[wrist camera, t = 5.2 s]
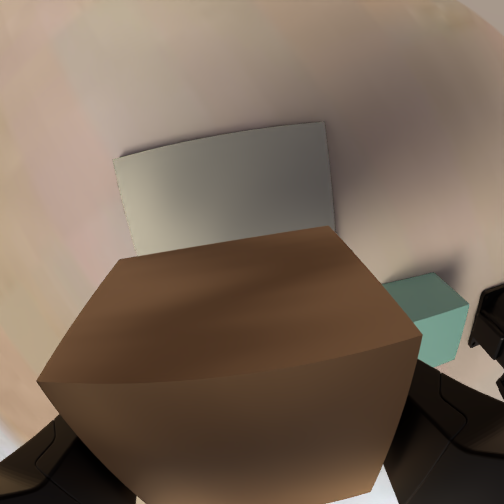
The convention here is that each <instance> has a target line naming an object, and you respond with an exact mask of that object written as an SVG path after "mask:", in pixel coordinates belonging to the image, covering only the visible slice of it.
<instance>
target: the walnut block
mask: <svg viewBox="0 0 504 504" xmlns="http://www.w3.org/2000/svg"><path fill="white" fill-rule="evenodd" d="M422 337H423V334H422V333H421V332H420V330H419V329H418V328H417V327H416V325H415V324H414V323H413V322H412V320H411V319H410V318H409V317H408V316H407V314H406V313H405V312H404V311H403V309H402V308H401V307H400V306H399V305H398V303H397V302H396V301H395V300H394V299H393V297H392V296H391V295H390V294H389V293H388V291H387V290H386V289H385V288H384V287H383V286H382V284H381V283H380V282H379V281H378V280H377V279H376V277H375V276H374V275H373V274H372V273H371V272H370V271H369V269H368V268H367V267H366V266H365V265H364V264H363V263H362V262H361V260H360V259H359V258H358V257H357V256H356V255H355V254H354V253H353V251H352V250H351V249H350V248H349V247H348V246H347V245H346V244H345V243H344V242H343V240H342V239H341V238H340V237H339V236H338V235H337V234H336V233H335V232H334V231H333V230H332V229H331V228H330V226H329V225H328V226H322V227H315V228H308V229H302V230H295V231H289V232H282V233H276V234H270V235H263V236H257V237H251V238H244V239H238V240H232V241H226V242H220V243H214V244H207V245H201V246H195V247H189V248H183V249H177V250H171V251H166V252H160V253H154V254H148V255H142V256H136V257H131V258H125V259H119V261H118V262H117V263H116V265H115V266H114V267H113V268H112V270H111V271H110V272H109V274H108V275H107V276H106V278H105V279H104V280H103V282H102V283H101V284H100V286H99V287H98V289H97V290H96V291H95V293H94V294H93V295H92V297H91V298H90V300H89V301H88V302H87V304H86V305H85V307H84V308H83V309H82V311H81V312H80V314H79V315H78V317H77V318H76V320H75V321H74V323H73V324H72V325H71V327H70V328H69V330H68V331H67V333H66V334H65V336H64V337H63V339H62V341H61V342H60V344H59V345H58V347H57V348H56V350H55V351H54V353H53V355H52V356H51V358H50V359H49V361H48V363H47V364H46V366H45V367H44V369H43V371H42V372H41V374H40V376H39V377H38V379H37V381H36V382H37V383H38V385H39V386H40V387H41V389H42V390H43V392H44V393H45V395H46V396H47V397H48V399H49V400H50V402H51V403H52V404H53V406H54V407H55V408H56V410H57V411H58V412H59V414H60V415H61V416H62V417H63V419H64V420H65V421H66V422H67V424H68V425H69V426H70V427H71V429H72V430H73V431H74V432H75V433H76V435H77V436H78V437H79V438H80V439H81V440H82V442H83V443H84V444H85V445H86V446H87V447H88V448H89V449H90V450H91V452H92V453H93V454H94V455H95V456H96V457H97V458H98V459H99V460H100V461H101V462H102V463H103V464H104V465H105V466H106V467H107V468H108V469H109V470H110V471H111V472H112V473H113V474H114V475H115V476H116V477H117V478H118V479H119V480H120V481H121V482H122V483H123V484H124V485H125V486H127V487H128V488H129V489H130V490H131V491H132V492H133V493H134V494H135V495H137V496H138V497H139V498H140V499H141V500H142V501H144V502H145V503H146V504H326V503H331V502H335V501H339V500H343V499H347V498H351V497H354V496H358V495H361V494H365V493H368V492H371V490H372V488H373V485H374V483H375V481H376V479H377V477H378V474H379V472H380V470H381V467H382V465H383V463H384V460H385V458H386V455H387V453H388V450H389V448H390V445H391V443H392V440H393V437H394V435H395V432H396V429H397V426H398V423H399V420H400V418H401V415H402V411H403V408H404V405H405V402H406V399H407V395H408V392H409V389H410V385H411V382H412V378H413V374H414V371H415V367H416V363H417V359H418V354H419V350H420V346H421V341H422Z"/></svg>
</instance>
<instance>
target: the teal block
mask: <svg viewBox="0 0 504 504" xmlns="http://www.w3.org/2000/svg"><path fill="white" fill-rule="evenodd" d="M382 286H383V287H384V288H385V289H386V290H387V291H388V293H389V294H390V295H391V296H392V297H393V299H394V300H395V301H396V302H397V303H398V305H399V306H400V307H401V308H402V309H403V311H404V312H405V313H406V314H407V316H408V317H409V318H410V319H411V320H412V322H413V323H414V324H415V325H416V327H417V328H418V329H419V330H420V332H421V333H422V334H423V337H422V341H421V346H420V350H419V354H418V359H419V360H421V361H423V362H425V363H426V364H428V365H430V366H432V367H436V366H439V365H441V364H444V363H446V362H449V361H451V360H454V359H455V356H456V352H457V349H458V346H459V343H460V339H461V336H462V332H463V328H464V325H465V321H466V317H467V313H468V309H469V303H468V302H467V301H465V300H464V299H463V298H462V297H461V296H460V295H459V294H458V293H457V292H456V291H454V290H453V289H452V288H451V287H450V286H449V285H448V284H446V283H445V282H444V281H443V280H442V279H441V278H440V277H438V276H437V275H436V274H435V273H434V272H433V273H429V274H425V275H421V276H417V277H412V278H408V279H404V280H399V281H395V282H391V283H386V284H382Z"/></svg>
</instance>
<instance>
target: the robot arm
mask: <svg viewBox="0 0 504 504" xmlns="http://www.w3.org/2000/svg"><path fill="white" fill-rule="evenodd" d="M479 344H480V345H481V347H482V348H483V349H484V350H485V351H486V352H487V353H488V354H489V356H490V357H491V358H492V359H493V360H497V361H498V363H499V364H500V365H501V366H502V367H503V368H504V284H503V285H500V286H498V287H495V288H492V289H489V290H487V291H484V292H483V293H482V295H481V298H480V302H479V306H478V310H477V314H476V318H475V322H474V325H473V329H472V332H471V336H470V339H469V342H468V345H469V346H470V348H473V347H475V346H477V345H479ZM496 384H497V386H498V388H499V391H500V393H501V395H502V397H503V399H504V373H503V375H502V376H501V377H500V378H499V379H498V380H497V381H496ZM383 465H384V467H385V470H386V472H387V475H388V477H389V480H390V482H391V485H392V487H393V490H394V492H395V495H396V497H397V500H398V503H399V504H504V402H502V401H500V400H497V399H495V398H493V397H490V396H488V395H486V394H483V393H481V392H479V391H477V390H474V389H472V388H470V387H468V386H466V385H464V384H462V383H460V382H458V381H456V380H455V379H453V378H451V377H449V376H447V375H446V374H444V373H441V374H440V371H438V370H437V369H435V368H433V367H432V366H430V365H428V364H426V363H425V362H423V361H421V360H419V359H417V363H416V367H415V371H414V374H413V378H412V382H411V385H410V389H409V392H408V395H407V399H406V402H405V405H404V408H403V411H402V415H401V418H400V420H399V423H398V426H397V429H396V432H395V435H394V437H393V440H392V443H391V445H390V448H389V450H388V453H387V455H386V458H385V460H384V463H383ZM136 496H137V495H135V494H134V493H133V492H132V491H131V490H130V489H129V488H128V487H127V486H125V485H124V484H123V483H122V482H121V481H120V480H119V479H118V478H117V477H116V476H115V475H114V474H113V473H112V472H111V471H110V470H109V469H108V468H107V467H106V466H105V465H104V464H103V463H102V462H101V461H100V460H99V459H98V458H97V457H96V456H95V455H94V454H93V453H92V452H91V450H90V449H89V448H88V447H87V446H86V445H85V444H84V443H83V442H82V440H81V439H80V438H79V437H78V436H77V435H76V433H75V432H74V431H73V430H72V429H71V427H70V426H69V425H68V424H67V422H66V421H65V420H64V419H63V417H62V416H61V415H60V414H59V415H58V416H57V417H56V418H55V419H54V420H52V421H51V422H50V423H49V424H48V425H47V426H46V427H45V428H43V429H42V430H41V431H40V432H39V433H38V434H36V435H35V436H34V437H33V438H32V439H30V440H29V441H28V442H26V443H25V444H24V445H23V446H21V447H20V448H19V449H17V450H16V451H15V452H13V453H12V454H10V455H9V456H8V457H6V458H5V459H4V460H2V461H1V462H0V504H136Z"/></svg>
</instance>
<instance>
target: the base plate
mask: <svg viewBox="0 0 504 504" xmlns="http://www.w3.org/2000/svg"><path fill="white" fill-rule="evenodd" d="M113 164H114V169H115V173H116V178H117V182H118V187H119V191H120V195H121V199H122V203H123V207H124V211H125V215H126V219H127V222H128V226H129V230H130V233H131V237H132V240H133V244H134V247H135V251H136V254H137V256H142V255H148V254H154V253H160V252H166V251H171V250H177V249H183V248H189V247H195V246H201V245H207V244H214V243H220V242H226V241H232V240H238V239H244V238H251V237H257V236H263V235H270V234H276V233H282V232H289V231H295V230H302V229H308V228H315V227H322V226H328V225H329V226H330V228H331V229H332V230H333V231H334V232H335V222H334V207H333V195H332V183H331V173H330V163H329V154H328V145H327V137H326V129H325V122H313V123H303V124H293V125H284V126H276V127H268V128H261V129H254V130H247V131H240V132H234V133H228V134H222V135H217V136H211V137H206V138H201V139H196V140H191V141H186V142H181V143H177V144H172V145H168V146H163V147H159V148H155V149H151V150H147V151H143V152H139V153H135V154H131V155H127V156H124V157H120V158H117V159H113Z"/></svg>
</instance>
